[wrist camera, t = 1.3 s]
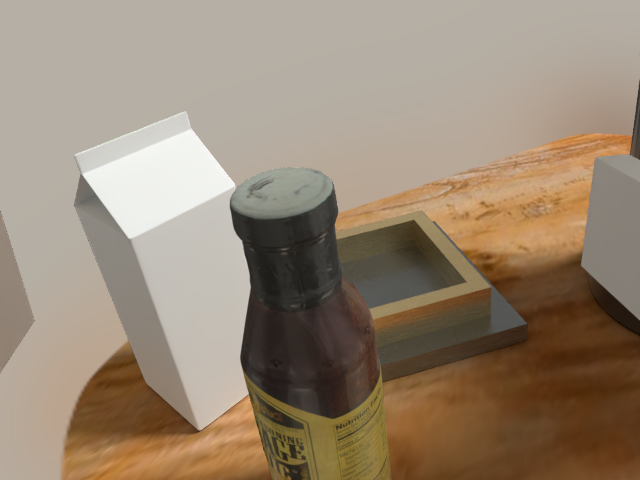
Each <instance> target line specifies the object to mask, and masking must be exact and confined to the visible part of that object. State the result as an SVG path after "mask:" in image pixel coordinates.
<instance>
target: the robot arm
mask: <svg viewBox="0 0 640 480" xmlns="http://www.w3.org/2000/svg"><path fill="white" fill-rule="evenodd" d="M581 266H582V267H583V268H584V269H585V270H586V271H587V272H588V273H589V285H590V289H591V291H592V293H593V295H594V297H595V299H596V300H597V302H598V303H599V304H600V305H601V307H602V308H603V309H604V310H605V311H606V312H607V313H608V314H609V315H611V316H612V317H613V318H614V319H616V320H617V321H618V322H620V323H621V324H623V325H624V326H626V327H627V328H629V329H631V330H633V331H634V332H636V333H638V334H640V82H639V90H638V97H637V105H636V114H635V121H634V128H633V136H632V144H631V150H630V155H629V154H624V155H613V156H602V157H595V163H594V171H593V178H592V186H591V193H590V201H589V208H588V216H587V223H586V231H585V239H584V246H583V254H582V261H581ZM34 321H35V320H34V316H33V313H32V310H31V307H30V304H29V301H28V298H27V295H26V291H25V288H24V285H23V281H22V278H21V275H20V272H19V269H18V265H17V262H16V259H15V256H14V253H13V249H12V246H11V243H10V240H9V236H8V233H7V230H6V227H5V224H4V220H3V218H2V214H1V211H0V373H1V371H2V370H3V368H4V367H5V365H6V364H7V362H8V360H9V359H10V357H11V356H12V354H13V353H14V351H15V350H16V348H17V347H18V345H19V344H20V342H21V341H22V339H23V337H24V336H25V335H26V333H27V332H28V330H29V329H30V327H31V326H32V324H33V322H34Z"/></svg>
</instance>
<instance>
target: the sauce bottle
mask: <svg viewBox="0 0 640 480" xmlns="http://www.w3.org/2000/svg"><path fill="white" fill-rule="evenodd" d="M230 211H231V216H232V223H233V228H234V230H235V232H236V234H237V236H238V237H239V238H240V240H242V244H243V250H244V255H245V257H246V260H247V265H248V269H249V275H250V286H251V289H250V295H249V300H248V307H247V313H246V320H245V327H244V333H243V340H242V346H241V353H240V361H241V366H242V370H243V374H244V378H245V382H246V386H247V389H248V393H249V396H250V399H251V400H250V401H251V404H252V407H253V411H254V415H255V419H256V423H257V426H258V429H259V434H260V437H261V442H262V445H263V450H264V452H265V455H266V459H267V462H268V466H269V469H270V473H271V477H272V480H391V472H390V461H389V451H388V440H387V430H386V419H385V408H384V397H383V387H382V376H381V365H380V360H379V357H378V354H377V351H376V339H375V327H374V323H373V318H372V315H371V312H370V310H369V308H368V306H367V304H366V301H365V300H364V299H363V297H362V296H361V295H360V293H359V292H358V291H357V289H356V288H355V286H354V284H352V283H348V282H347V280H346V279H345V278H344V277H343V276H342V270H343V265H342V262H341V260H340V258H339V257H338V247H337V240H336V233H335V225H334V224H335V221H336V218H337V215H338V207H337V201H336V194H335V190H334V185H333V182H332V180H331V179H330V178H328V177H327V176H326V175H324V174H323V173H322V172H320V171H317V170H314V169H309V168H280V169H275V170H271V171H267V172H263V173H260V174H258V175H255V176H253V177H251V178H250V179H247V180H245V181H244V182H243V183H242V184H241V185H239V186H238V187H237V189H236V190H235V191H234V193H233V194H232V196H231V198H230Z"/></svg>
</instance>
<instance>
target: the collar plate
mask: <svg viewBox="0 0 640 480" xmlns="http://www.w3.org/2000/svg"><path fill="white" fill-rule="evenodd" d="M335 233H336V240H337V247H338V257H339V258H340V260H341V262H342V265H343V270H342V276H343V277H344V278H345V279H346V280H347V282H348V283H352V284H354V286H355V288H356V289H357V291H358V292H359V293H360V295H361V296H362V297H363V299H364V300H365V301H366V304H367V306H368V308H369V310H370V312H371V315H372V318H373V323H374V327H375V339H376V351H377V354H378V357H379V360H380V365H381V376H382V382H385V381H388V380H392V379H395V378H399V377H402V376H406V375H409V374H413V373H416V372H419V371H423V370H426V369H430V368H433V367H437V366H440V365H443V364H447V363H450V362H454V361H457V360H461V359H464V358H468V357H471V356H474V355H478V354H481V353H485V352H488V351H492V350H495V349H498V348H502V347H505V346H509V345H512V344H516V343H519V342H523V341H526V340H527V325H528V324H527V323H526V321H525V320H524V319H523V318H522V317H521V316H520V315H519V314H518V313H517V312H516V310H515V309H514V308H513V307H512V306H511V305H510V304H509V303H508V302H507V301H506V299H505V298H504V297H503V296H502V295H501V294H500V293H499V292H498V291H497V290H496V288H495V287H494V286H493V285H492V284H491V283H490V282H489V281H488V280H487V279H486V277H485V276H484V275H483V274H482V273H481V272H480V271H479V270H478V269H477V268H476V266H475V265H474V264H473V263H472V262H471V261H470V260H469V259H468V258H467V257H466V255H465V254H464V253H463V252H462V251H461V250H460V249H459V248H458V247H457V246H456V244H455V243H454V242H453V241H452V240H451V239H450V238H449V237H448V236H447V235H446V233H445V232H444V231H443V230H442V229H441V228H440V227H439V226H438V225H437V224H436V222H435V221H433V222H432V221H431V220H430V219H429V218H428V216H427V215H426V214H425V213H424V212H423V211H418V212H414V213H410V214H406V215H402V216H398V217H394V218H390V219H386V220H382V221H378V222H374V223H370V224H366V225H362V226H358V227H354V228H350V229H346V230H342V231H338V232H335Z"/></svg>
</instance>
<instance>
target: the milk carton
mask: <svg viewBox="0 0 640 480" xmlns="http://www.w3.org/2000/svg"><path fill="white" fill-rule="evenodd" d="M74 157H75V160H76V163H77V165H78V168H79V170H80V173H81V175H80V179H79V184H78V189H77V193H76V198H75V203H74V206H75V208H76V211H77V214H78V216H79V219H80V221H81V224H82V226H83V229H84V231H85V234H86V236H87V238H88V241H89V244H90V246H91V249H92V251H93V253H94V256H95V258H96V261H97V263H98V266H99V268H100V271H101V273H102V276H103V278H104V281H105V283H106V285H107V288H108V291H109V293H110V296H111V298H112V301H113V303H114V305H115V308H116V310H117V313H118V315H119V318H120V320H121V323H122V325H123V328H124V330H125V333H126V335H127V338H128V340H129V343H130V345H131V348H132V350H133V353H134V355H135V358H136V360H137V363H138V365H139V367H140V370H141V372H142V375H143V377H144V380H145V382H146V384H147V385H149V386H150V387H151V388H152V389H153V390H154V391H155V392H156V393H157V394H159V395H160V396H161V397H162V398H163V399H164V400H165V401H166V402H167V403H169V404H170V405H171V406H172V407H173V408H174V409H175V410H176V411H177V412H178V413H180V414H181V415H182V416H183V417H184V418H185V419H186V420H187V421H188V422H190V423H191V424H192V425H193V426H194V427H195V428H196V429H197V430H199V431H200V430H202V429H203V428H205V427H206V426H208V425H209V424H210V423H212V422H213V421H214V420H216V419H217V418H218V417H219V416H221V415H222V414H223V413H225V412H226V411H227V410H229V409H230V408H231V407H233V406H234V405H235V404H237V403H238V402H239V401H241V400H242V399H243V398H245V397H246V396H247V395H248V394H249V393H248V389H247V386H246V382H245V378H244V374H243V370H242V366H241V361H240V353H241V346H242V340H243V333H244V327H245V320H246V313H247V307H248V300H249V295H250V289H251V286H250V275H249V269H248V265H247V260H246V257H245V255H244V250H243V244H242V240H240V238H239V237H238V236H237V234H236V232H235V230H234V228H233V223H232V216H231V211H230V198H231V196H232V194H233V193H234V191H235V190H236V187H235V184H234V182H233V181H232V180H231V179H230V178H229V176H228V175H227V174H226V172H225V171H224V170H223V168H222V167H221V166H220V165H219V163H218V162H217V161H216V160H215V158H214V157H213V156H212V154H211V153H210V152H209V151H208V149H207V148H206V147H205V146H204V144H203V143H202V142H201V140H200V139H199V138H198V137H197V135H196V134H195V133H194V132H193V130H192V129H191V126H190V122H189V118H188V115H187V112H182V113H180V114H177V115H175V116H172V117H169V118H167V119H164V120H162V121H159V122H157V123H154V124H152V125H149V126H147V127H144V128H141V129H139V130H136V131H134V132H131V133H129V134H126V135H124V136H121V137H119V138H116V139H113V140H111V141H109V142H106V143H103V144H101V145H98V146H96V147H93V148H91V149H88V150H86V151H83V152H80V153H78V154H76V155H74Z"/></svg>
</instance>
